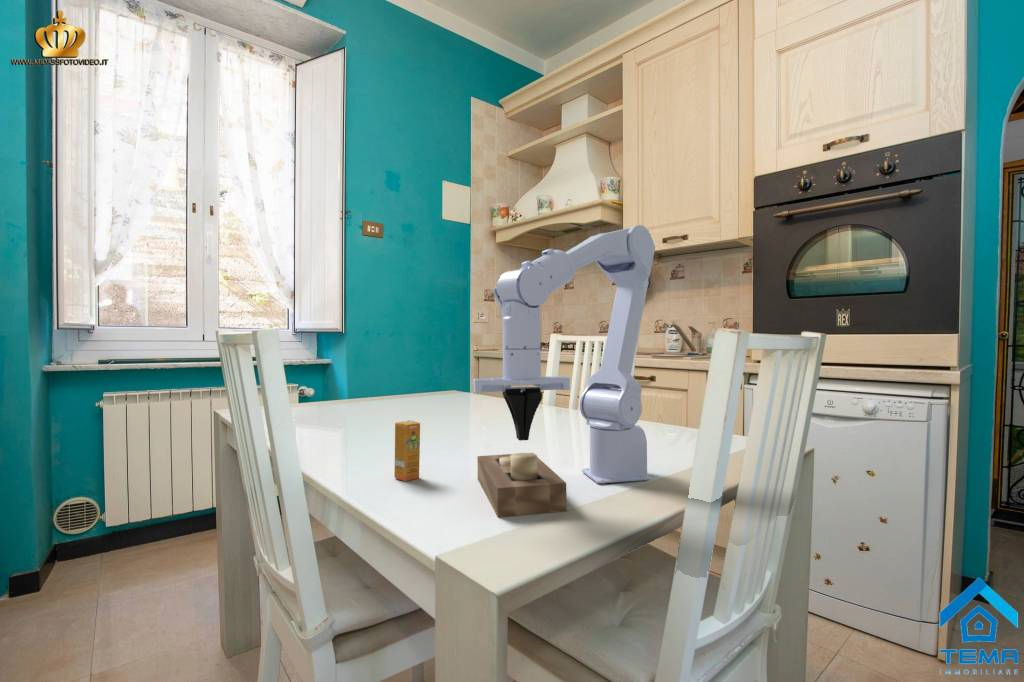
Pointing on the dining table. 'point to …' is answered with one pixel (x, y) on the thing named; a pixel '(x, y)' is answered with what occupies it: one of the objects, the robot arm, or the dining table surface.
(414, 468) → the supplement box
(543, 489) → the wooden peg hole block
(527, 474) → the peg
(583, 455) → the dining table surface
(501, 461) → the peg
